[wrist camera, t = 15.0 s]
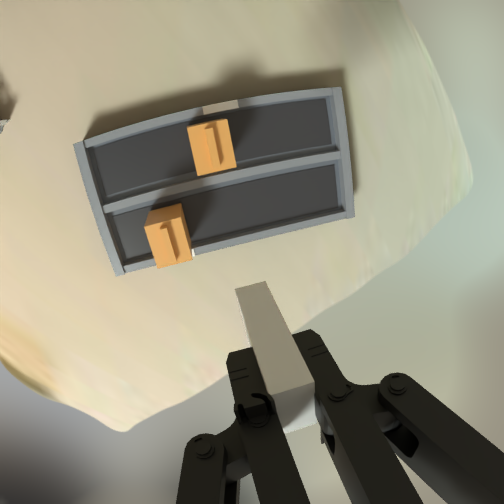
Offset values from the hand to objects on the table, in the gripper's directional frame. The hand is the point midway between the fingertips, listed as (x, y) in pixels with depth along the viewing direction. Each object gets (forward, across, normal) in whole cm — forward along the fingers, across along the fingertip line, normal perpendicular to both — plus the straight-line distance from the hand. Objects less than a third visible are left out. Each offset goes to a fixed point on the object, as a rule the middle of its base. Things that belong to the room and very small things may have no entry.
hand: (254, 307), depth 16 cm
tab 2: (+17, 0, +6) cm, 18 cm away
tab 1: (+17, -5, -1) cm, 18 cm away
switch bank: (+20, +1, +2) cm, 20 cm away
